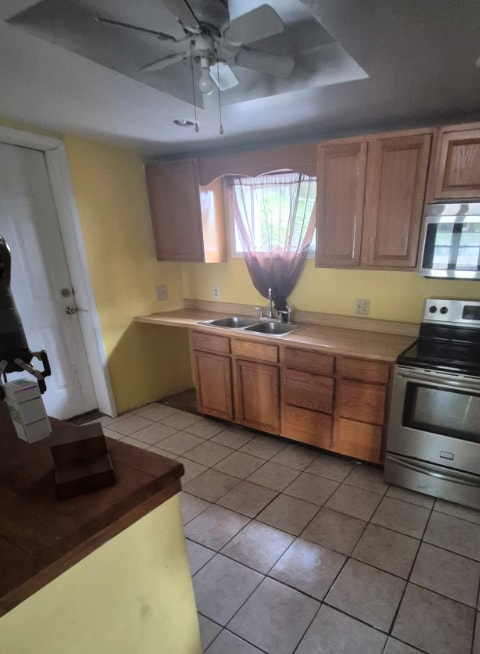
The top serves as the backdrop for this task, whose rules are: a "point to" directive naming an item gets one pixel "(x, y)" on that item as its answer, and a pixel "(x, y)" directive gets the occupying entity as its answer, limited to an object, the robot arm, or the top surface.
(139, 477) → the top surface
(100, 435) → the shelf riser
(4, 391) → the syrup box
